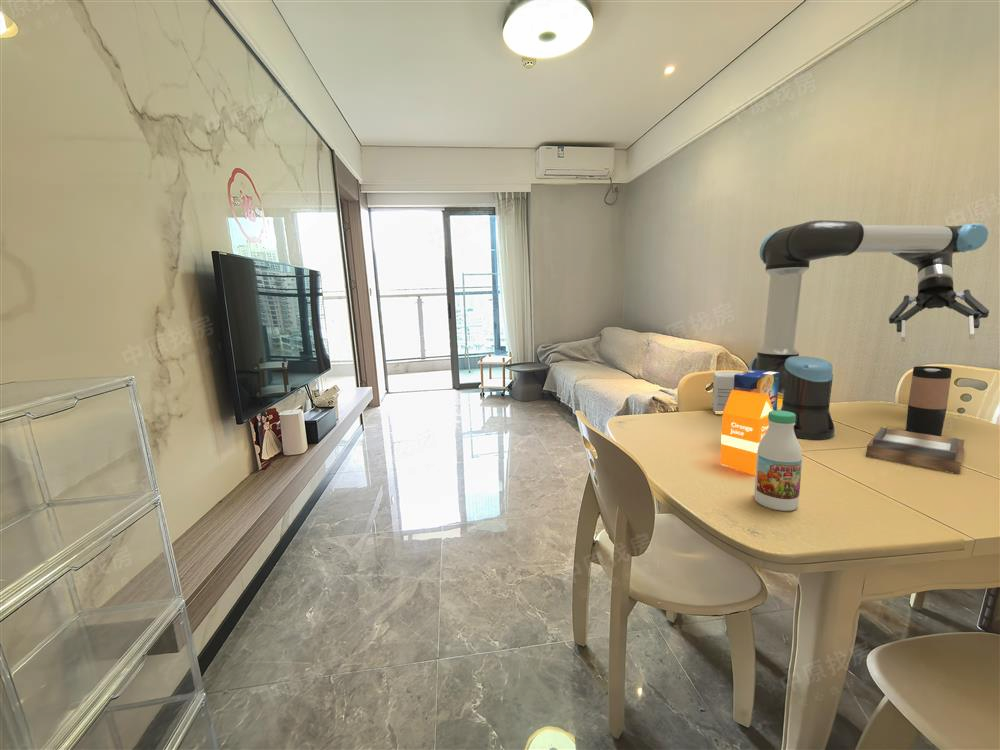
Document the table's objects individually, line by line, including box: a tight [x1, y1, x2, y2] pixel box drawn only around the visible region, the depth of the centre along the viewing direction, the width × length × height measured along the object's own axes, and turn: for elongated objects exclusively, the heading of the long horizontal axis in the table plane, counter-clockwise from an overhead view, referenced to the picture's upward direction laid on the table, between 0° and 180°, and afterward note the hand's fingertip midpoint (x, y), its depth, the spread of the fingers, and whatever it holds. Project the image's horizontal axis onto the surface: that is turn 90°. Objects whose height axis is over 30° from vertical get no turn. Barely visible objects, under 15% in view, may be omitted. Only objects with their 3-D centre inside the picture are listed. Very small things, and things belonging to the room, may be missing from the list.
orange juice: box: [719, 390, 773, 476], centre depth 99 cm, size 8×9×20 cm
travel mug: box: [905, 365, 953, 437], centre depth 113 cm, size 8×8×20 cm
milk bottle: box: [753, 409, 803, 512], centre depth 81 cm, size 8×8×20 cm
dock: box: [865, 426, 966, 475], centre depth 103 cm, size 16×23×5 cm
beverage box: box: [734, 370, 779, 411], centre depth 110 cm, size 7×11×22 cm, turn 123°
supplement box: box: [712, 371, 741, 412], centre depth 145 cm, size 9×9×15 cm
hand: (936, 338), depth 116 cm, fingers open, 13 cm apart
